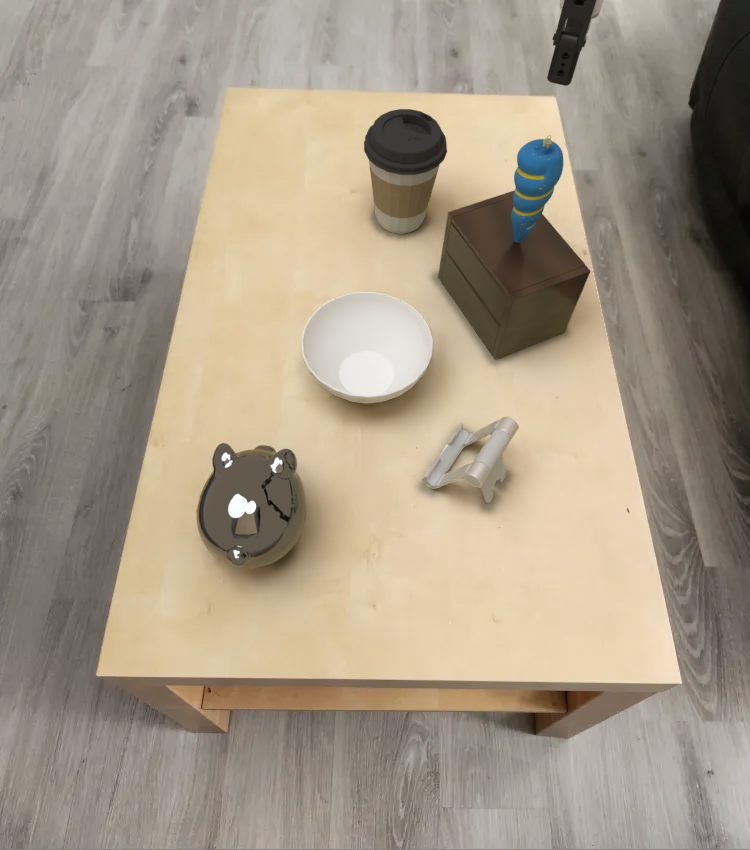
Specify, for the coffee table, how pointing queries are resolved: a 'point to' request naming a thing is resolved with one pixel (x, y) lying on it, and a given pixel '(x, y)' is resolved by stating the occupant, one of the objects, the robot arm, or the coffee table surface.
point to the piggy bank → (251, 506)
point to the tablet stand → (484, 466)
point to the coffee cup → (403, 166)
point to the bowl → (366, 346)
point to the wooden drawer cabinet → (509, 276)
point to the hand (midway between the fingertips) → (567, 56)
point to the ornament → (534, 183)
